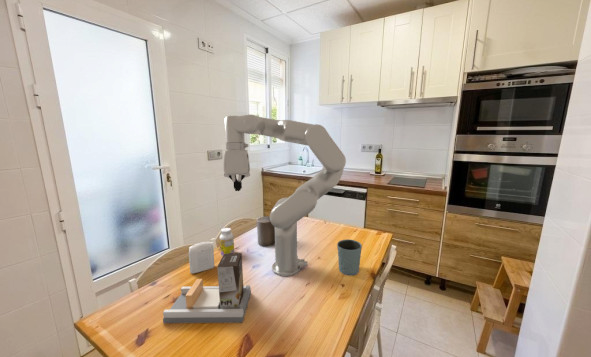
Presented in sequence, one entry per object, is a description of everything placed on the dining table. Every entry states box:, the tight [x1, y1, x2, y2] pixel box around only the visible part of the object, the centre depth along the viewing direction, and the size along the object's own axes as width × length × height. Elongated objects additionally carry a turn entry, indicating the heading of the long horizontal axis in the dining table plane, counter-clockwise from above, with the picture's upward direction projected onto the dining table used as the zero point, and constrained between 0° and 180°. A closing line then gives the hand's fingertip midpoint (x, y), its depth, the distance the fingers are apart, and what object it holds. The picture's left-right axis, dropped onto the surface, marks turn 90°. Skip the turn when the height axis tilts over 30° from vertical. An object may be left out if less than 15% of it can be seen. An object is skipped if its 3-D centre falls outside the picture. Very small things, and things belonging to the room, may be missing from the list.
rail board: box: [162, 284, 252, 324], centre depth 81 cm, size 25×14×4 cm, turn 90°
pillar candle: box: [256, 215, 275, 248], centre depth 130 cm, size 10×10×15 cm
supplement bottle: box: [219, 227, 235, 257], centre depth 118 cm, size 7×7×13 cm
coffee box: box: [216, 252, 244, 309], centre depth 80 cm, size 9×6×16 cm
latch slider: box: [185, 278, 220, 309], centre depth 81 cm, size 10×9×6 cm
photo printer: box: [188, 241, 215, 275], centre depth 105 cm, size 10×4×12 cm, turn 123°
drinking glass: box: [336, 239, 363, 277], centre depth 102 cm, size 10×10×12 cm
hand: (238, 190), depth 101 cm, fingers closed
